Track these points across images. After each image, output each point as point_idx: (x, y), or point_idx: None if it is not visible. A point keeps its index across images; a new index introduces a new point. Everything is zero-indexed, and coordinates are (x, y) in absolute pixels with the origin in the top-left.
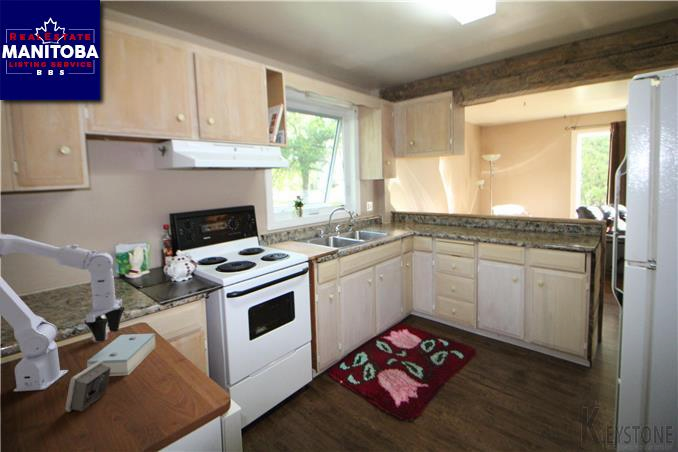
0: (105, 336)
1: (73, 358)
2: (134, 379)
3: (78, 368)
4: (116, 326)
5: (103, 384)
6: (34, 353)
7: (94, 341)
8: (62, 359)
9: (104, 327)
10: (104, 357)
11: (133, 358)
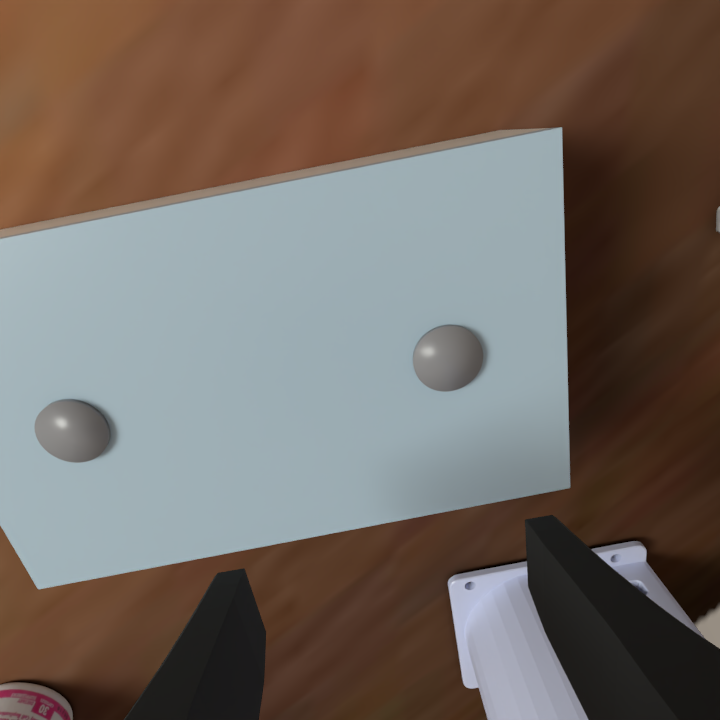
0: (5, 706)
1: (290, 663)
2: (577, 5)
3: (404, 553)
4: (230, 636)
5: None
6: None
7: (72, 716)
8: (309, 700)
9: (706, 678)
10: (505, 399)
11: (406, 155)
